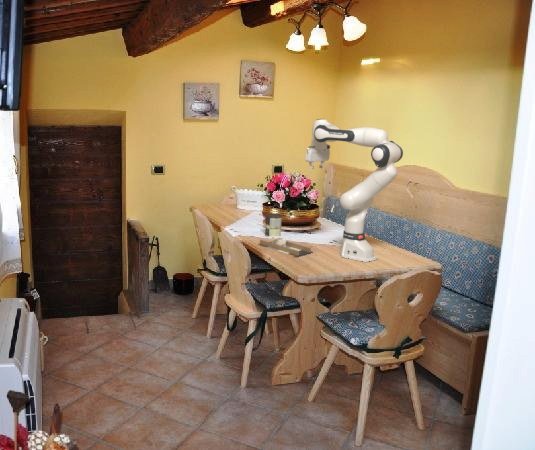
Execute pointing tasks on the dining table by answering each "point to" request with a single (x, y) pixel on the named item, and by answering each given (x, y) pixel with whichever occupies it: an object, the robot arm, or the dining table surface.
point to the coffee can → (273, 224)
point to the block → (279, 241)
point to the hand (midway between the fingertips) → (316, 168)
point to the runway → (288, 248)
